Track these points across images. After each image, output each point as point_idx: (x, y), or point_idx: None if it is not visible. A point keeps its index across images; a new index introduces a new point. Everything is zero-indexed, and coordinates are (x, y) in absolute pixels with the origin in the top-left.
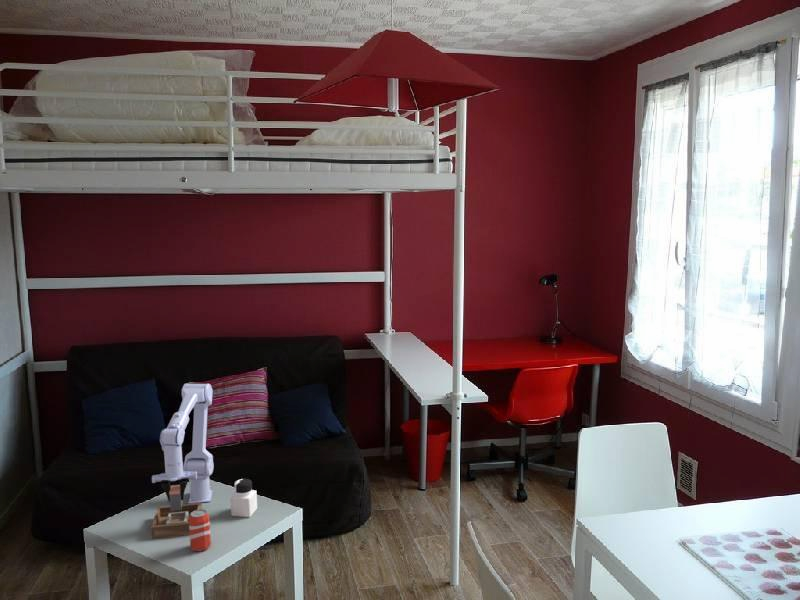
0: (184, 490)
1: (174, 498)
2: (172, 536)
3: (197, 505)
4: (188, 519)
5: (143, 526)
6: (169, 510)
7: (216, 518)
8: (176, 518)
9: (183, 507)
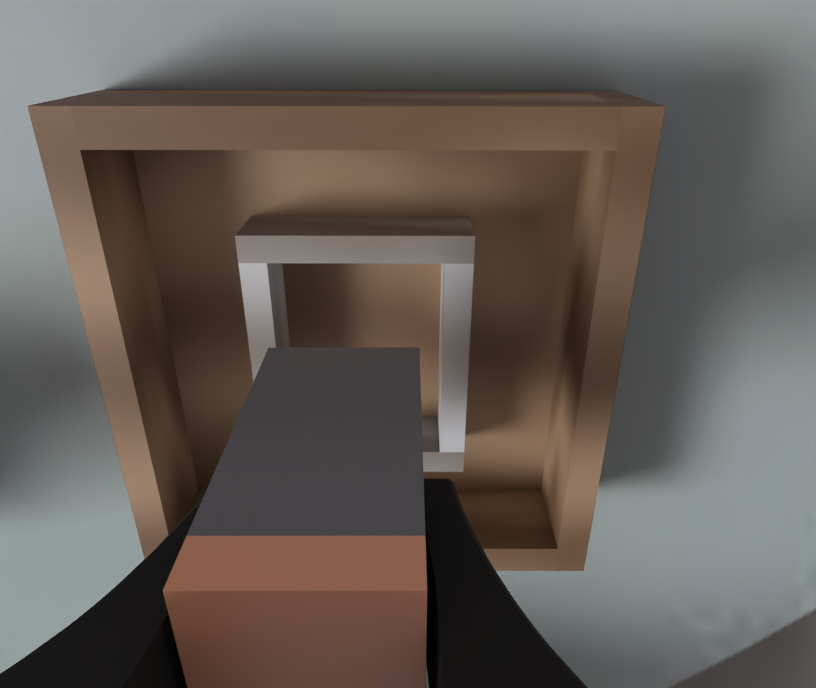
0: (90, 611)
1: (331, 469)
2: (390, 90)
3: None
4: None
5: (690, 376)
6: None
7: (15, 378)
8: None
9: None
